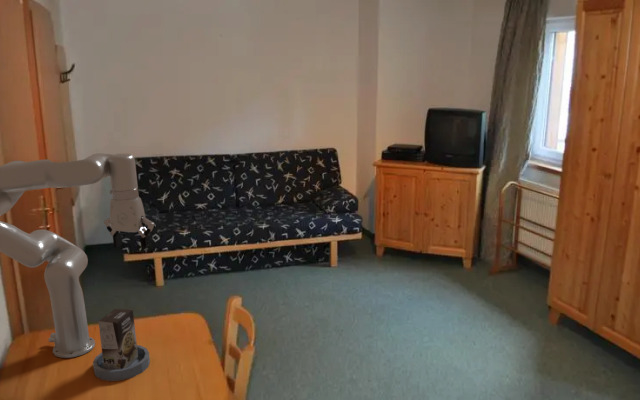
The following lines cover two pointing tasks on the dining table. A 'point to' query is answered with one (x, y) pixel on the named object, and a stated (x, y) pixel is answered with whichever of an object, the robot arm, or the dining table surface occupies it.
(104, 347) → the coffee box
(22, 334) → the dining table surface
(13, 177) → the robot arm
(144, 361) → the bowl
